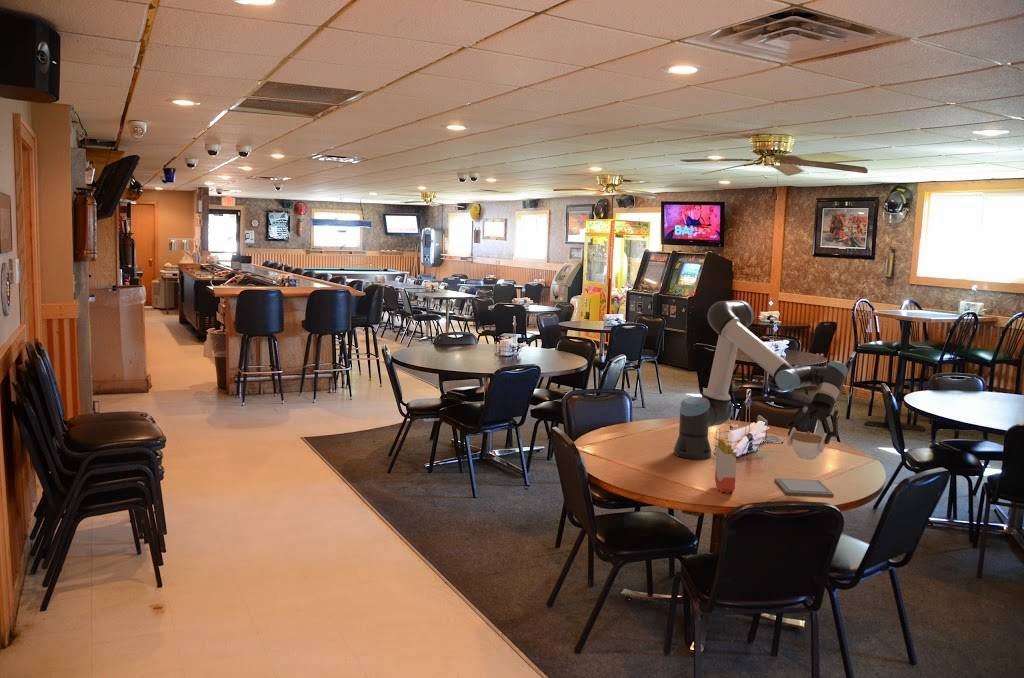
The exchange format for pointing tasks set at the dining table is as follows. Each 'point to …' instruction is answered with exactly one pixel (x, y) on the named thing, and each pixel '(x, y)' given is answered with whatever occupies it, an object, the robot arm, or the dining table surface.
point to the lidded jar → (806, 444)
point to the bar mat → (803, 487)
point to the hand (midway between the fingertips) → (804, 447)
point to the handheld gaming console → (772, 438)
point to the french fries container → (725, 467)
